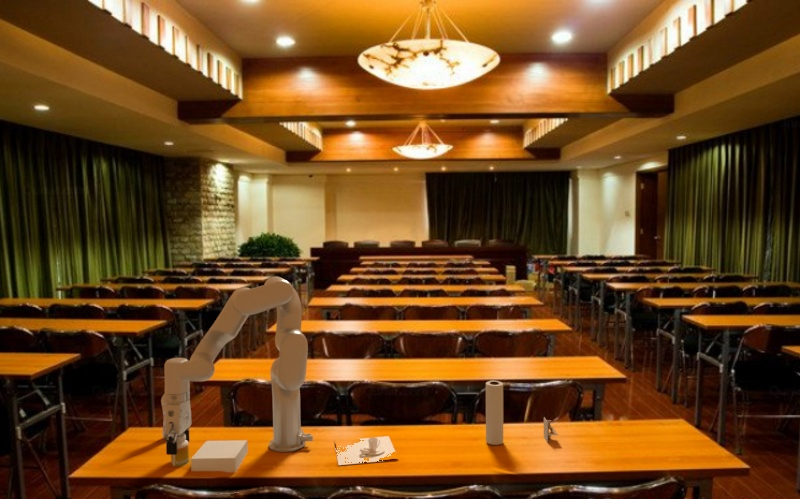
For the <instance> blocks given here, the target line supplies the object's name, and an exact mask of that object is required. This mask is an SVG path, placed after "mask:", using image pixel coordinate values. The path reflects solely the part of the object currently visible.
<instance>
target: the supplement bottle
mask: <svg viewBox="0 0 800 499" xmlns="http://www.w3.org/2000/svg"><path fill="white" fill-rule="evenodd" d="M173 437H174V435H173ZM185 439H186V434H184V433H182V434H181V435H178V434H177V438H176V442H177V454H176V455H170V456H171V457H170V459H171V465H172V466H174V467H182V466H185V465H187V464H189V462H190V454H189V453H190V452H189V442H188V441H187V440H185Z"/></svg>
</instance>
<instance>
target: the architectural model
mask: <svg viewBox="0 0 800 499" xmlns="http://www.w3.org/2000/svg"><path fill="white" fill-rule="evenodd" d="M551 423H552V420H550V419H549V420H548V419H546V417H545V416H544V417H543V438H544V439H545V441H546V443H547V444H548V443H549V439H551V437H552V436H559V434H558V432H557V430H556V429H555V428H554V427H553V426H552V425H551Z"/></svg>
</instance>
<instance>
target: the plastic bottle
mask: <svg viewBox="0 0 800 499" xmlns="http://www.w3.org/2000/svg"><path fill="white" fill-rule="evenodd" d="M160 402H161V408H162V414H163V415H162V416H163V417H162V418H163V425H162V426H163V427H162V431H161V434H162V437H163V439H164V440H165V435H164V433H165V431H166V429H165V419H166V405H167V404H166V403H165V393H163V395H162V396H161V399H160ZM170 436H172V438H173V435H170Z"/></svg>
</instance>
